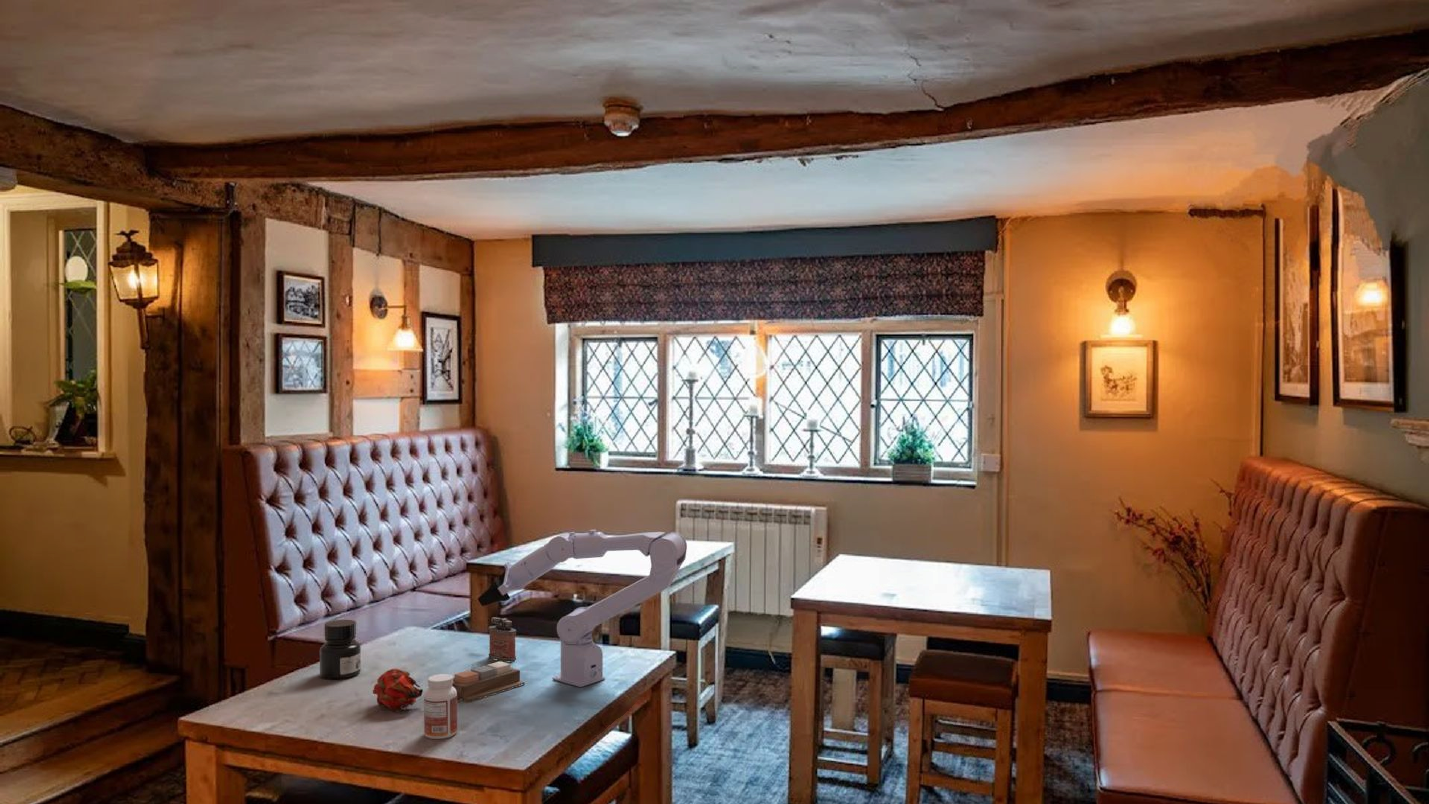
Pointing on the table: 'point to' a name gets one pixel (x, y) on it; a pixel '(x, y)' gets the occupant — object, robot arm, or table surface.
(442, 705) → the pill bottle
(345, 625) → the ink bottle
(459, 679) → the key terracotta
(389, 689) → the dragon fruit
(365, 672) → the table surface
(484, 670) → the key slate
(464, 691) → the keypad board
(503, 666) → the key cream
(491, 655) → the lighter
